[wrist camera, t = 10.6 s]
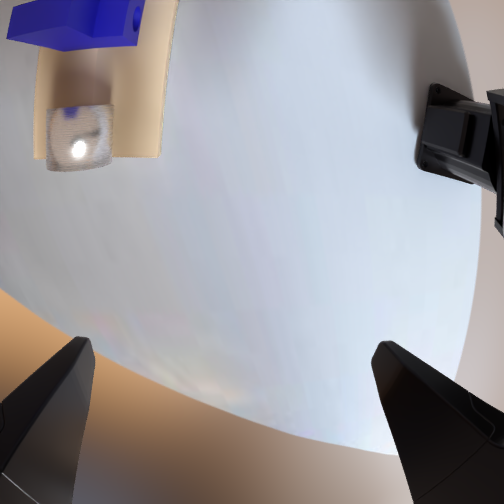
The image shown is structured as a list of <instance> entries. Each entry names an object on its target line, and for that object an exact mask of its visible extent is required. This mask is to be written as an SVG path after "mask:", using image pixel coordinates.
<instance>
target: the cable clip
mask: <svg viewBox="0 0 504 504" xmlns="http://www.w3.org/2000/svg"><path fill="white" fill-rule="evenodd" d="M144 5H145V0H36V1H32V2H28V3H25V4H21V5H18V6H15V7H13V10H12V15H11V19H10V23H9V28H8V33H7V39H9V40H15V41H20V42H24V43H29V44H33V45H38V46H42V47H46V48H50V49H54V50H58V51H62V52H67V51H74V50H83V49H93V48H106V47H123V46H137V42H138V36H139V31H140V25H141V20H142V14H143V9H144Z"/></svg>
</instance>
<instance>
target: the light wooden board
mask: <svg viewBox="0 0 504 504" xmlns="http://www.w3.org/2000/svg"><path fill="white" fill-rule="evenodd" d="M178 2H179V0H145V5H144V9H143V14H142V20H141V25H140V31H139V36H138V42H137V46H123V47H106V48H93V49H83V50H74V51H67V52H62V51H58V50H54V49H50V48H46V47H42V46H40V50H39V57H38V65H37V75H36V86H35V102H34V159H46V109H54V108H63V107H74V106H88V105H109V104H114V116H113V136H112V157H146V158H158V157H159V156H160V155H161V144H162V130H163V117H164V106H165V95H166V86H167V77H168V68H169V60H170V53H171V45H172V39H173V32H174V26H175V19H176V14H177V8H178Z"/></svg>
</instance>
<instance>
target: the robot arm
mask: <svg viewBox="0 0 504 504" xmlns="http://www.w3.org/2000/svg"><path fill="white" fill-rule="evenodd" d="M436 88H437V93H436ZM487 97H488V100H489V101H490V104H485V103H479V102H475V101H473V100H471V99H469V98H467V97H465V96H463V95H461V94H459V93H457V92H455V91H453V90H451V89H449V88H447V87H445V86H443V85H440V84H437V83H433V84H431V85H430V89H429V97H428V104H427V110H426V116H425V122H424V128H423V134H422V139H421V144H420V149H419V154H418V159H417V167H418V168H419V169H421V170H423V171H426V172H430V173H434V174H437V175H441V176H445V177H448V178H452V179H455V180H459V181H462V182H465V183H469V184H477V185H479V186H481V187H483V188H485V189H487V190H489V191H491V192H493V193H495V194H497V206H496V207H497V209H496V217H495V227H496V228H497V230H498V231H499V232H500V234H501V235H502V236H503V238H504V89H497V90H490V91H487ZM424 161H425V164H424V166H423V162H424ZM371 366H372V370H373V374H374V377H375V381H376V385H377V389H378V393H379V397H380V401H381V404H382V407H383V410H384V413H385V416H386V419H387V422H388V424H389V427H390V430H391V433H392V436H393V439H394V442H395V445H396V448H397V451H398V454H399V457H400V460H401V463H402V466H403V470H404V473H405V476H406V479H407V482H408V486H409V489H410V493H411V496H412V499H413V503H414V504H504V413H503V412H502V411H500V410H498V409H496V408H494V407H493V406H491V405H489V404H487V403H486V402H484V401H483V400H481V399H479V398H478V397H476V396H475V395H473V394H472V393H470V392H468V391H467V390H466V389H464V388H463V387H461V386H460V385H458V384H457V383H455V382H454V381H452V380H451V379H449V378H448V377H446V376H445V375H443V374H442V373H440V372H439V371H437V370H436V369H434V368H433V367H431V366H430V365H428V364H427V363H425V362H424V361H422V360H421V359H419V358H418V357H416V356H415V355H413V354H412V353H410V352H409V351H407V350H405V349H404V348H402V347H401V346H399V345H398V344H396V343H395V342H393V341H382V342H380V343H379V345H378V347H377V349H376V351H375V353H374V355H373V357H372V360H371ZM94 369H95V356H94V352H93V349H92V345H91V341H90V339H89V338H87V337H79V336H77V337H75V338H74V339H72V340H71V341H70V342H69V343H68V344H66V345H65V346H64V347H63V348H62V349H61V350H59V351H58V352H57V353H56V354H55V355H53V356H52V357H51V358H50V359H49V360H48V361H47V362H45V363H44V364H43V365H42V366H41V367H40V368H38V369H37V370H36V371H35V372H34V373H33V374H32V375H30V376H29V377H28V378H27V379H26V380H25V381H24V382H23V383H22V384H20V385H19V386H18V387H17V388H16V389H15V390H14V391H13V392H11V393H10V394H9V395H8V396H7V397H6V398H5V399H4V400H3V401H2V403H0V504H72V497H73V490H74V483H75V477H76V471H77V465H78V460H79V454H80V449H81V444H82V438H83V434H84V430H85V425H86V420H87V416H88V411H89V406H90V398H91V390H92V383H93V375H94Z"/></svg>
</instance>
